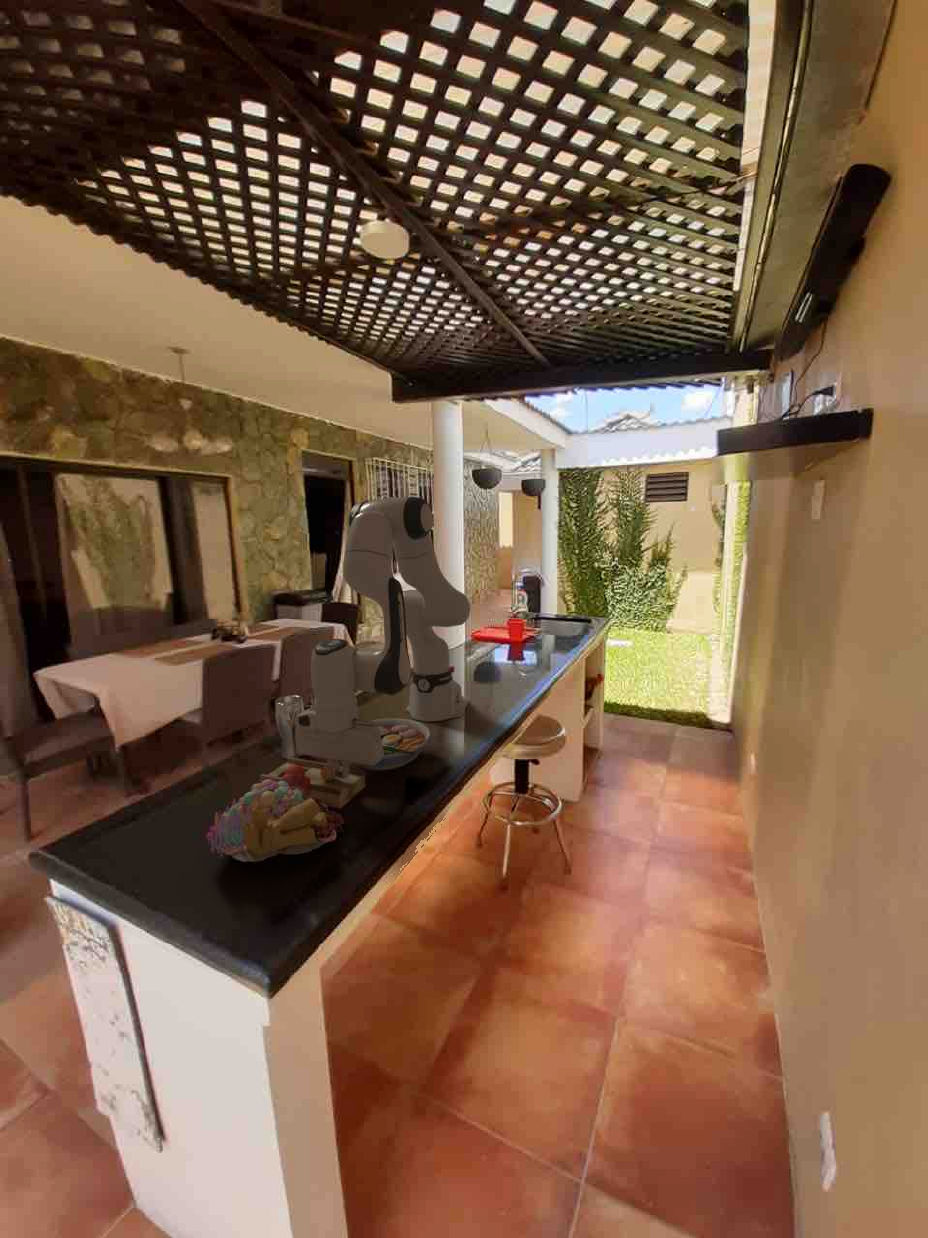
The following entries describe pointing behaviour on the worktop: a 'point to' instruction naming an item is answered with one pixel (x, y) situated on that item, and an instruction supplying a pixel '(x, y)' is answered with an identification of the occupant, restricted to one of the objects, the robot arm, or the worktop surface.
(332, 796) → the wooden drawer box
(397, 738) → the ramen bowl
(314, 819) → the pastel sphere sculpture
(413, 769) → the worktop surface
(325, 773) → the ball
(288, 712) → the beer glass
